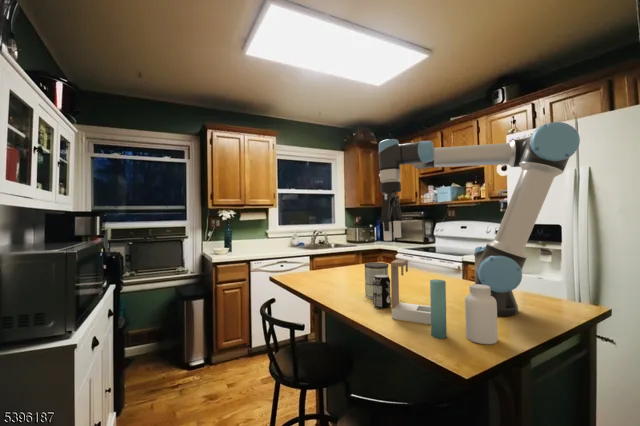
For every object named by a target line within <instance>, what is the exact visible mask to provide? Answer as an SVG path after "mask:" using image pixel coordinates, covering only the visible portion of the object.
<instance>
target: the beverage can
mask: <svg viewBox="0 0 640 426" xmlns="http://www.w3.org/2000/svg"><path fill="white" fill-rule="evenodd" d="M372 302H373V306H374V307H375V308H377V309H380V310H381V309H389V308H390V307H391V306H392V297H391V277H390V274H388V275H386V274H376V275H374V278H373V299H372Z"/></svg>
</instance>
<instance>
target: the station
mask: <svg viewBox="0 0 640 426" xmlns="http://www.w3.org/2000/svg"><path fill="white" fill-rule="evenodd" d="M408 263H409V260H408V259H402V258H401V259H399V258H398V259H395V260H393V261H391V262H390V296H391V319H392V320H398V321H405V322H411V323H412V322H413V323H420V324H426V325H431V305H425V304H415V303H409V302H408V303H407V302H406V303H405V302H400V286H399V285H400V284H399V283H400V281H399V275H400V276H402V277H403V276H404V267H405V273H408V271H409V270H408V269H409V265H408ZM399 267H400V273H401V274H400V273H399Z"/></svg>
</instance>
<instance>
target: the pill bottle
mask: <svg viewBox="0 0 640 426" xmlns="http://www.w3.org/2000/svg"><path fill="white" fill-rule="evenodd" d="M490 292H491V288H490V286H487V285H481V284H475V283H474V284H470V285H469V293H468V294H467V295H466V296H465V298H464V311H465V312H464V313H465V335H466V338H467V340H469V341H471V342H473V343H477V344H481V345H494V344H496V343H498V340H499V339H498V338H499V337H498V335H499V333H498V332H499V331H498V330H499V329H498V316H497V302H496V299H495V298H494V297H492V296H490V295H491V293H490Z"/></svg>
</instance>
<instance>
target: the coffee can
mask: <svg viewBox="0 0 640 426" xmlns="http://www.w3.org/2000/svg"><path fill="white" fill-rule="evenodd" d="M376 274H386V275H389V263H387V262H378V261H376V262H374V261H373V262H366V263H364V288H365V295H364V296H365V298H367V299H371V300H373V278H374V275H376Z"/></svg>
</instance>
